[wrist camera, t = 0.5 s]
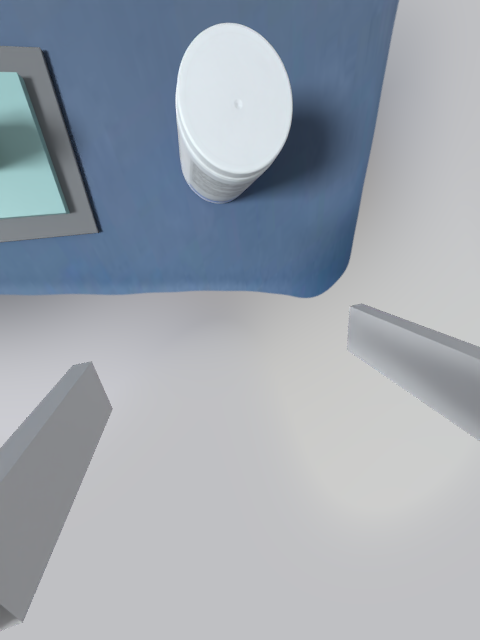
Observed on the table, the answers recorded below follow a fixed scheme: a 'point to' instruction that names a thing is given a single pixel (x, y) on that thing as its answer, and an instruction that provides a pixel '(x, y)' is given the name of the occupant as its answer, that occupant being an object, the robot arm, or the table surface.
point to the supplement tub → (230, 110)
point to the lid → (24, 157)
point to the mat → (59, 147)
